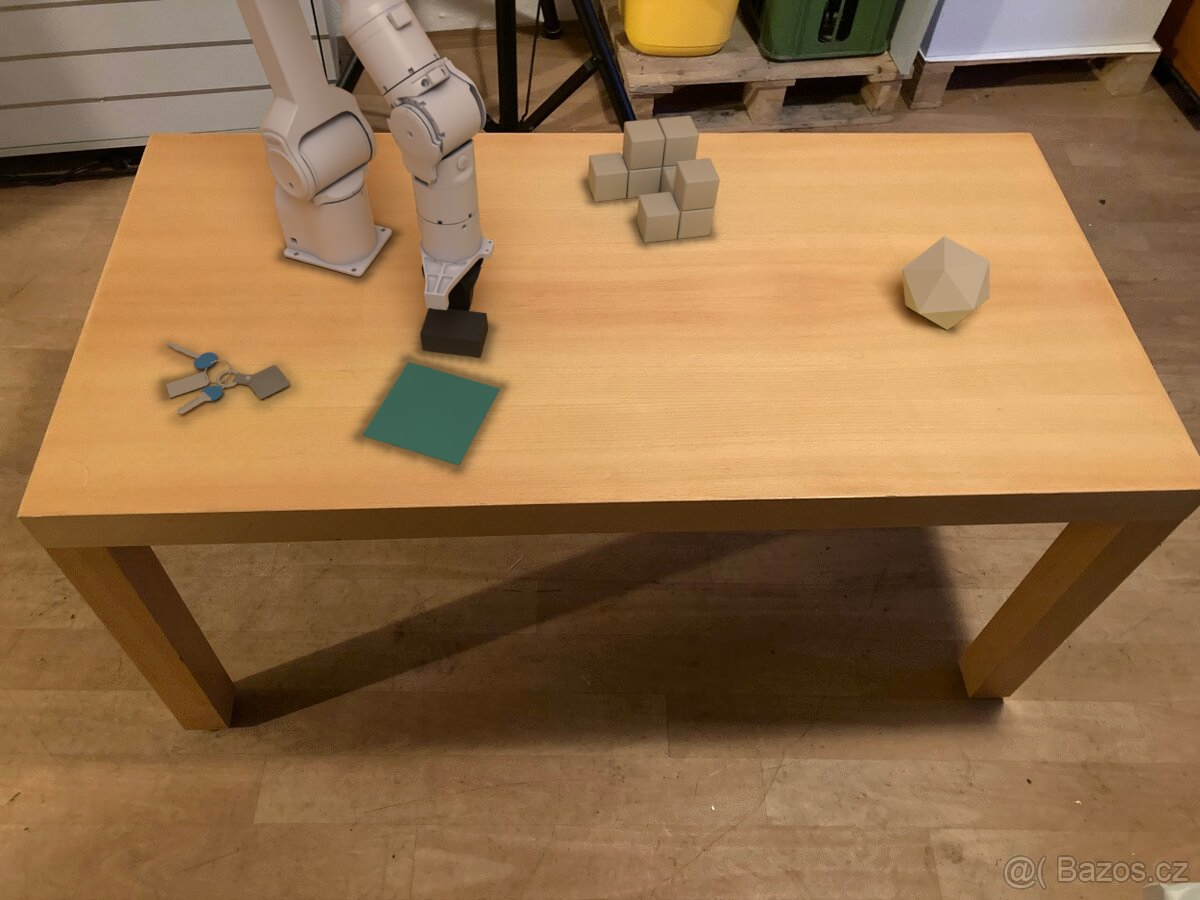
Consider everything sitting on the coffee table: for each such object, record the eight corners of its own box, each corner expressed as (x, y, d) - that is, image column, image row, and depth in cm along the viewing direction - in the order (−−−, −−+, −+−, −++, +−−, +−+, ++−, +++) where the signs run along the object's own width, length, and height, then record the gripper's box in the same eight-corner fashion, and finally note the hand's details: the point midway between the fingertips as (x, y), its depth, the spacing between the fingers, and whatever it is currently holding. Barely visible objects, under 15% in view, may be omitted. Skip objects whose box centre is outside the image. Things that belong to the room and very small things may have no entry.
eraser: (422, 350, 93) (419, 333, 91) (432, 322, 96) (429, 305, 94) (480, 357, 93) (478, 341, 91) (488, 329, 95) (486, 312, 93)
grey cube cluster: (587, 181, 111) (589, 124, 104) (682, 171, 112) (690, 114, 106) (609, 247, 104) (613, 190, 97) (710, 235, 106) (720, 178, 99)
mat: (362, 435, 87) (362, 435, 87) (408, 362, 92) (408, 361, 92) (459, 465, 85) (459, 465, 85) (500, 388, 91) (500, 388, 91)
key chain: (298, 373, 91) (296, 367, 90) (260, 436, 86) (258, 431, 85) (170, 344, 92) (167, 338, 92) (125, 405, 87) (122, 399, 87)
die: (989, 318, 100) (987, 225, 97) (991, 336, 93) (989, 237, 90) (907, 323, 104) (903, 234, 101) (903, 342, 96) (899, 246, 93)
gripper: (473, 263, 80) (483, 366, 90) (505, 161, 88) (510, 267, 99) (394, 253, 80) (413, 357, 91) (433, 153, 88) (446, 259, 99)
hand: (459, 310), depth 95 cm, fingers closed
